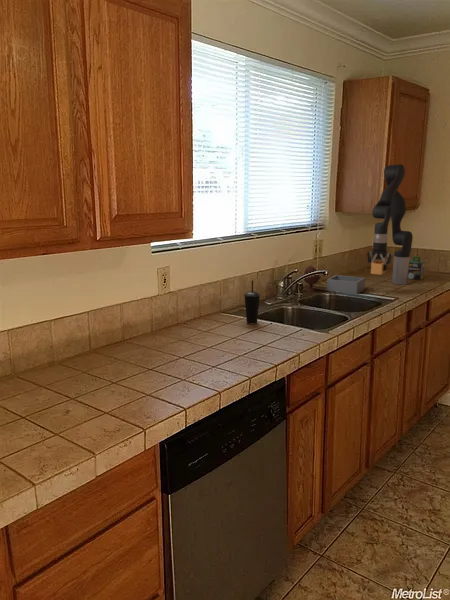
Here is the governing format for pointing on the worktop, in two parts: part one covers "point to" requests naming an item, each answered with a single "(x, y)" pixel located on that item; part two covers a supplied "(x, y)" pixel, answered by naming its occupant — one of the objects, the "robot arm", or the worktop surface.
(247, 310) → the drinking cup
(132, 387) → the worktop surface
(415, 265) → the chalk box
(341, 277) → the charcoal crate
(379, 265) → the orange crate
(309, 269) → the ice cream bowl
